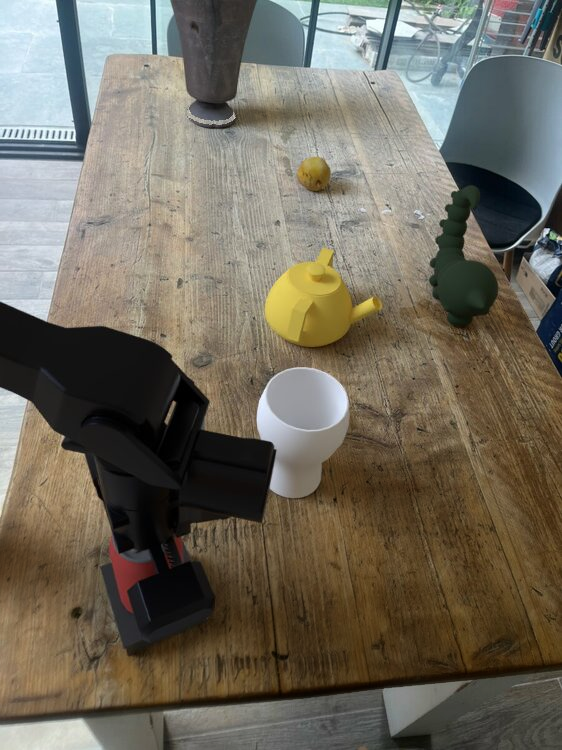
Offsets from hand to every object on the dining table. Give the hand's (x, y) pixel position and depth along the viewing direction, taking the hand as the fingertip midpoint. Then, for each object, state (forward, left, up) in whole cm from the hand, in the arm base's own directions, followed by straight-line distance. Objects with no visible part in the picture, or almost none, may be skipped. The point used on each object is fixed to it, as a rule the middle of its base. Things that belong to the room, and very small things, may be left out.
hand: (151, 566), depth 57 cm
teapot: (+38, +33, -8) cm, 51 cm away
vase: (+49, +111, -8) cm, 122 cm away
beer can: (0, 0, -5) cm, 5 cm away
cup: (+21, +9, -8) cm, 24 cm away
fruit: (+58, +73, -8) cm, 94 cm away
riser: (0, 0, -8) cm, 8 cm away
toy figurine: (+64, +31, -8) cm, 72 cm away
